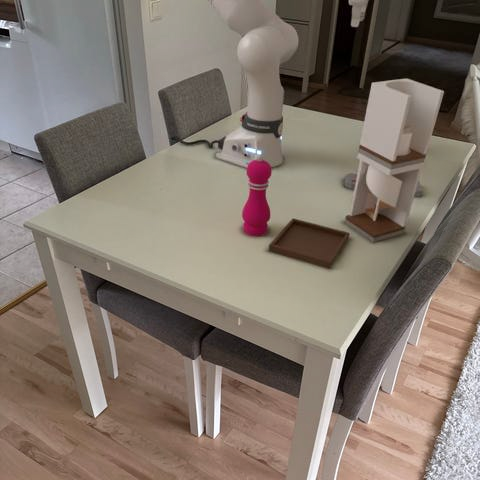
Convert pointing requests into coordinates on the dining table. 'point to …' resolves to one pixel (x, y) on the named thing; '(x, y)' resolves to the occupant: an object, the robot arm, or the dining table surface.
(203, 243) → the dining table surface
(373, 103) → the two-tier shelf stand
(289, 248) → the serving tray
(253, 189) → the pepper mill
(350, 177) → the remote control
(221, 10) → the robot arm
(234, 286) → the dining table surface
